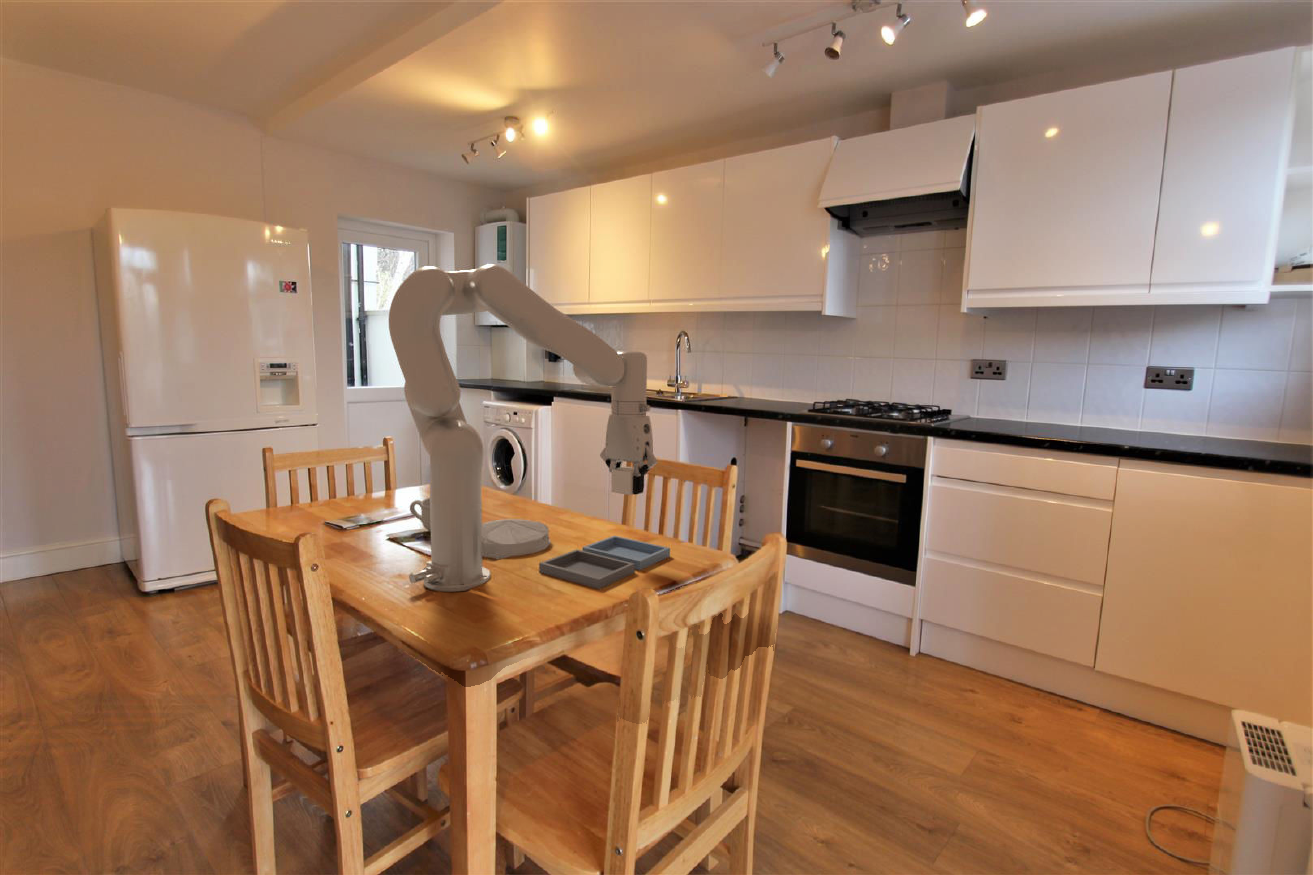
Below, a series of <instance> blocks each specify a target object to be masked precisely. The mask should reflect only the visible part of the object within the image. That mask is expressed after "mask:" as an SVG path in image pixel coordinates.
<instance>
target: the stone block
mask: <svg viewBox="0 0 1313 875" xmlns="http://www.w3.org/2000/svg"><path fill="white" fill-rule="evenodd" d="M633 476H635V471H634V467H631V466H626V465H625V466H621V468H616V469H612V473H611V482H612V484H611V493H614V494H619V495H620V494H621V495H626V496H633V495H634V494H633Z"/></svg>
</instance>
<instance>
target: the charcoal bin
mask: <svg viewBox="0 0 1313 875" xmlns="http://www.w3.org/2000/svg"><path fill="white" fill-rule="evenodd" d="M538 569H539V570H538V571H539V572H538V573H540V574H544V575H548V576H551V577H555V578H558V579H562V580H565V581H569V582H572V583H575V584H579V585H583V586H586V587H588V588H593V589H595V590H600V589H603V588H605V587H607V586H609V585H612V584H614V583H616V582H618V581H620V580H622V579H625V578H627V577H629V576H631V575H633V574H635V570H636V569H635V564H634V563H630V562H626V561H622V560H618V559H614V558H610V557H606V556H602V555H598V554H594V553H590V552H586V551H582V550H581V549H577V548H576V549H573V550H571V551H569V552H565V553H563V554H561V555H557V556H555V557H552V558H549V559H546V560H544V561H541V562H539V563H538Z"/></svg>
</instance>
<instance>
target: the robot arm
mask: <svg viewBox="0 0 1313 875" xmlns="http://www.w3.org/2000/svg"><path fill="white" fill-rule="evenodd" d="M484 312H485V313H486V312H488V313H490V314H491V315H492V316H493V317H495V318H496V319H497V320H499V321H501V322H502V323H503V324H504V325H506V327H507V326H508V327H509V328H510V329H512V331H514V332H515V333H516V334H518V335H519V337H521V338H523V339H524V340H525V341H527V342H528V343H530V344H531V345H533V346H536V347H537V348H539V349H542V350H545V351H547V352H550V353H553V354H555V355H557V356H558V357H560V358H563V359H564V360H566V361H567V362H569V363H570V364H571V365H572V370H573V371H572V372H573V374H574V376H575V377H576V378H577V380H579V381H580V382H581V383H583V384H585V385H588V386H595V387H602V388H608V387H609V388H610V387H611V403H610V404H611V408H610V409H611V410H610V411H611V412H610V414H609V415H608V418H607V419H608V421H607V424H606V425H607V426H606V432H605V445H604V446H605V447H604V448H603V450H602V451H601V452H600V454H599V456H600V458H601V459H602V460H603V462H604V463H605V464H606V466H607V468H608V471H609V473H611V474H612V469H616V468H621V467H623V466H622V465H623V462H626V463H632V466H633V468H634V471H635V476H633V495H640V494H643V493H644V490H645V489H644V488H645V476H646V475H647V474H648V472H649V471H650V470H651V468H653V467H654V466H656V465H657V464H658V459H657V458H656V457H655V455H654V442H653V441H654V439H653V430H652V429H653V428H652V423H651V417H650V415H647V412H650V410H651V406H650V405H649V404H647V388H648V387H647V386H648V385H647V384H648V383H647V382H648V380H647V379H648V356H647V355H646V354H645V352H642V351H632V350H631V351H628V350H623V351H622V350H620V351H616V349H614V348H613V347H612V346H610V344H608V343H607V342H606V341H605V340H603V339H602V338H600V337H599V336H598V335H597V334H596V333H594V332H593V331H591V330H590V329H588V328H587V327H586V326H584V325H582V324H581V323H579V322H577V321H575V319H573V318H571V317H570V316H568V315H567V314H565V313H564V312H562V311H560V310H558V309H557V308H555V307H554V306H553V305H551V303H549V302H547V301H546V300H545V299H544V298H543V297H541V296H540V295H539V294H538V293H537V292H536V291H534V290H532V289H531V288H530V287H529V286H528V285H527V284H525V283H524V282H523V281H522V280H520V279H519V278H518V277H517V276H515V275H514V274H512V273H511V272H510V271H509V270H507V269H506V268H504V267H503V266H501V265H498V264H494V263H490V264H485V265H482V266H479V267H478V268H475V269H470V270H468V269H467V270H459V271H457V270H455V271H445V270H444V269H441V268H440V267H436V266H433V265H431V266H430V265H427V266H422V267H421V266H420V267H419V268H417V269H415V270H414V271H413V272H411V273H410V274H409V275H408V276H407V277H406V278H405V280H404V281H403V282H402V283H401V284H400V286H399V287H398V288H397V289H396V292H395V293H394V296H393V297H392V300H391V304H390V307H389V312H388V329H389V336H390V339H391V343H392V346H393V349H394V353H395V356H396V358H397V361H398V365H399V366H400V371H401V372H402V375H403V379H404V381H405V383H404V387H403V390H404V396H405V400H406V403H407V406H408V409H409V411H410V413H411V416H412V419H413V421H414V424H415V426H416V429H417V431H418V434H419V437H420V439H421V442H422V444H423V447H424V449H425V451H426V452H427V454H428V456H429V463H430V464H429V498H430V520H431V532H430V550H431V551H430V552H431V553H430V556H431V560H429V561H426V566H425V567H424V568H423V569H422V570H417V571H415V572H411V573H410V574H409V575H408V579H409V582H410V583H411V584H416V583H418V582H421V581H423V585H424V586H425V588H428V589H430V590H433V591H438V592H446V593H447V592H451V593H452V592H463V591H469V590H472V588H475V587H478V586H481V585H483V584H485V583H487V582H488V581H489V580H490V578H491V571H490V570H489V569H488V568H486V567H484V566H483V557H482V524H483V521H482V520H483V512H482V504H483V503H482V477H483V476H482V475H483V465H484V464H483V463H484V447H483V446H484V445H483V441H482V439H481V436H480V434H479V433H478V431H477V430H476V428H474V427H473V426H472V425H470V424H469V423H467V419H466V418H465V414H464V410H463V408H462V406H461V403H460V400H461V388H460V384H459V382H458V380H457V378H456V377H457V376H456V375H455V373H454V371H453V368H452V365H451V362H450V359H449V358H448V354H447V351H446V348H445V345H444V341H443V338H442V335H441V330H440V322H441V318H442V316H453V315H465V314H468V315H469V314H476V313H484ZM645 461H646V462H645ZM610 484H611V485H612V481H611V482H610Z"/></svg>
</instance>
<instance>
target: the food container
mask: <svg viewBox="0 0 1313 875" xmlns="http://www.w3.org/2000/svg"><path fill="white" fill-rule="evenodd" d="M549 532H550V529H549V527H548V526H547V524H544V523H543V522H541V521H535V520H534V521H533V520H531V519H530V520H528V519H520V518H519V519H518V518H512V519H511V518H509V519H508V518H507V519H506V518H504V519H498V520H497V519H495V520H490V521H486V522H484V523H483V522H482V558H492V559H494V560H498V561H499V560H503V559H506V558H509V557H514V556H515V557H517V556H523V555H524V556H525V555H529V554H533V553H534V554H535V553H538V552H541V551H543V550H547V548H548V547H551V543H552V541H551V539H550V536H549Z"/></svg>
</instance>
